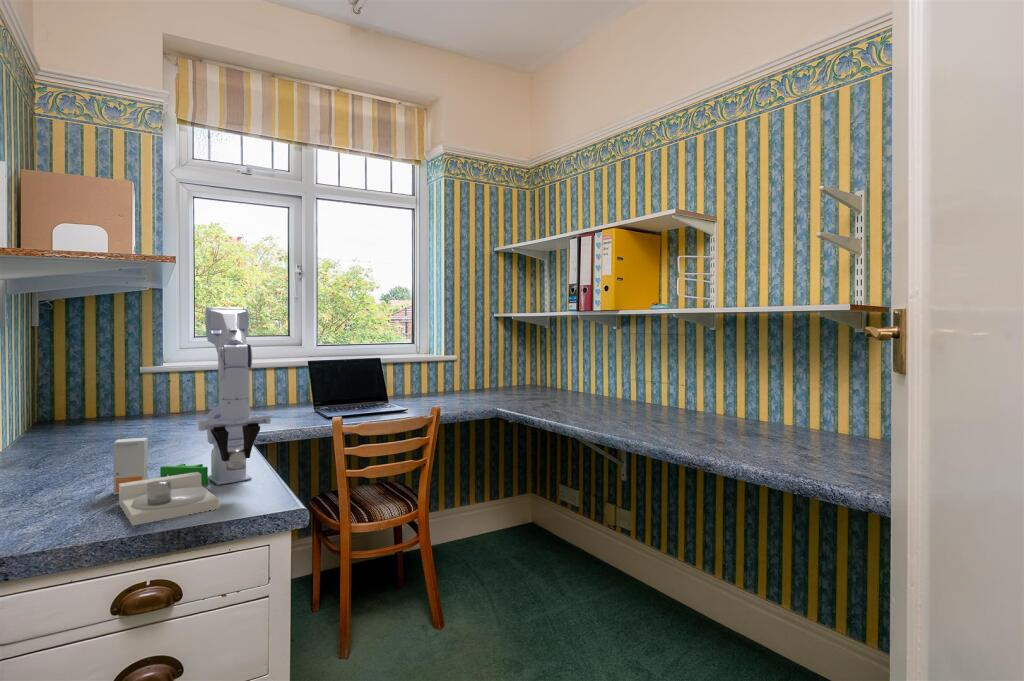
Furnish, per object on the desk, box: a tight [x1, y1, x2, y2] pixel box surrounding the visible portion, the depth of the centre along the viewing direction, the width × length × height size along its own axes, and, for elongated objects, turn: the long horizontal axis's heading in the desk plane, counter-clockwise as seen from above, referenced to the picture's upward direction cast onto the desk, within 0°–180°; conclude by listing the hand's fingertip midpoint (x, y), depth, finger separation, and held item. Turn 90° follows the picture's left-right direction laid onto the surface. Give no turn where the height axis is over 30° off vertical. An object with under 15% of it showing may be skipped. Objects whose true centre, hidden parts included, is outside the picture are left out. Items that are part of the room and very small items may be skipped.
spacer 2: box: [226, 449, 247, 471], centre depth 124 cm, size 4×4×4 cm
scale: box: [118, 472, 220, 527], centre depth 117 cm, size 17×15×4 cm
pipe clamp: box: [159, 463, 209, 487], centre depth 135 cm, size 11×4×5 cm, turn 86°
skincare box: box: [112, 437, 149, 496], centre depth 128 cm, size 6×4×12 cm
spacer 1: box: [147, 480, 171, 506], centre depth 112 cm, size 4×4×4 cm
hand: (235, 459), depth 124 cm, fingers closed on spacer 2, 4 cm apart
